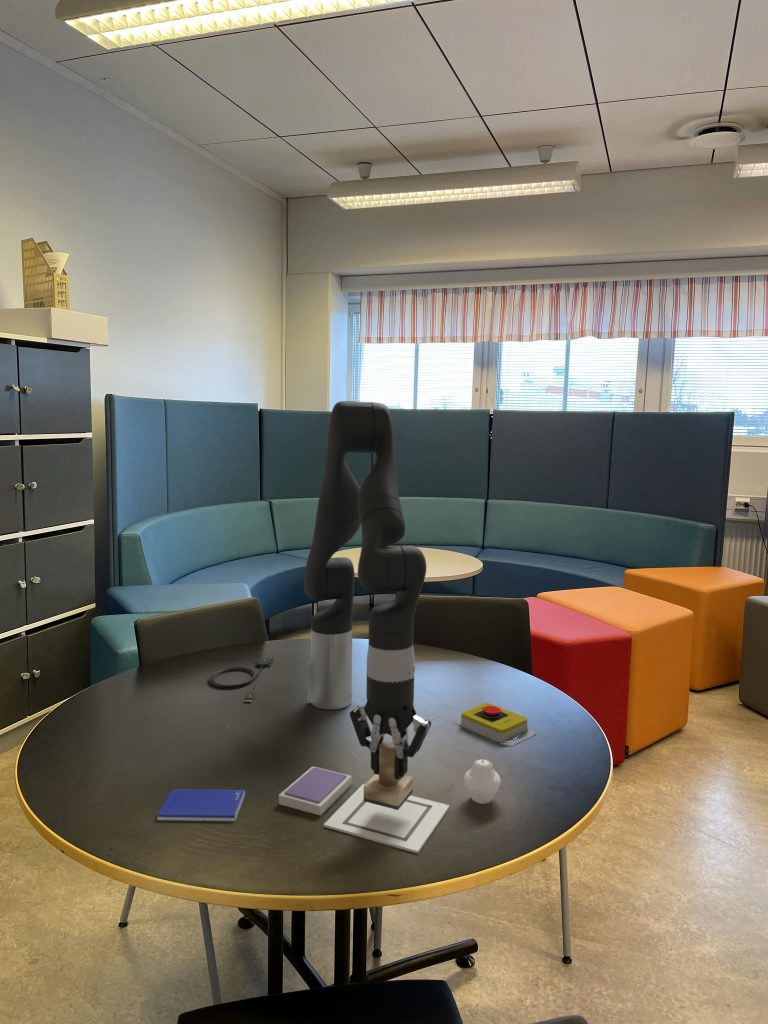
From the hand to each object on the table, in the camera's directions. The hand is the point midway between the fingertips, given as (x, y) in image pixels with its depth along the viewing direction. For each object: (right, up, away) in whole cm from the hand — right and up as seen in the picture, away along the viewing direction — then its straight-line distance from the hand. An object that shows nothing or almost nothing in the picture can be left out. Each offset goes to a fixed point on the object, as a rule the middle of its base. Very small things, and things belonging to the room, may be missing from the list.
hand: (389, 774), depth 113 cm
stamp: (0, -4, 0) cm, 4 cm away
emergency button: (+22, -4, +35) cm, 42 cm away
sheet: (0, -7, +1) cm, 7 cm away
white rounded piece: (+16, -7, +7) cm, 19 cm away
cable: (-37, 0, +60) cm, 71 cm away
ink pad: (-12, -6, +8) cm, 16 cm away
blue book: (-31, -7, +3) cm, 32 cm away
